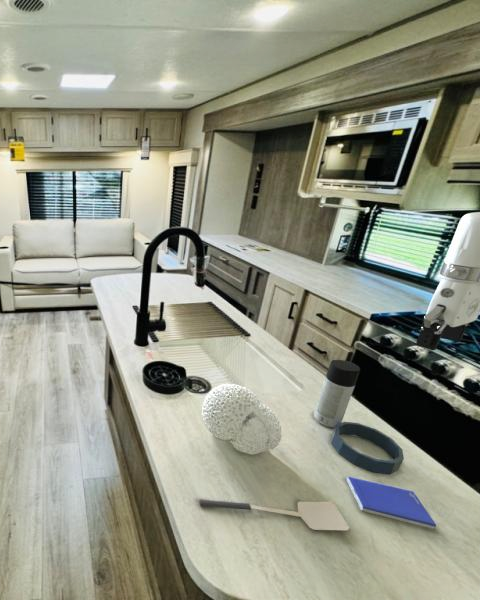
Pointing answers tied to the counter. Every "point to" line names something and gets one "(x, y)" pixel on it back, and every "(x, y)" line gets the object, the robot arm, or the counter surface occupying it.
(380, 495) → the hard drive
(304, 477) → the counter surface
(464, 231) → the robot arm
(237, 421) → the white textured rounded lump
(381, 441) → the faceted blue ring
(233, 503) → the spatula
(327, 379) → the spray can
